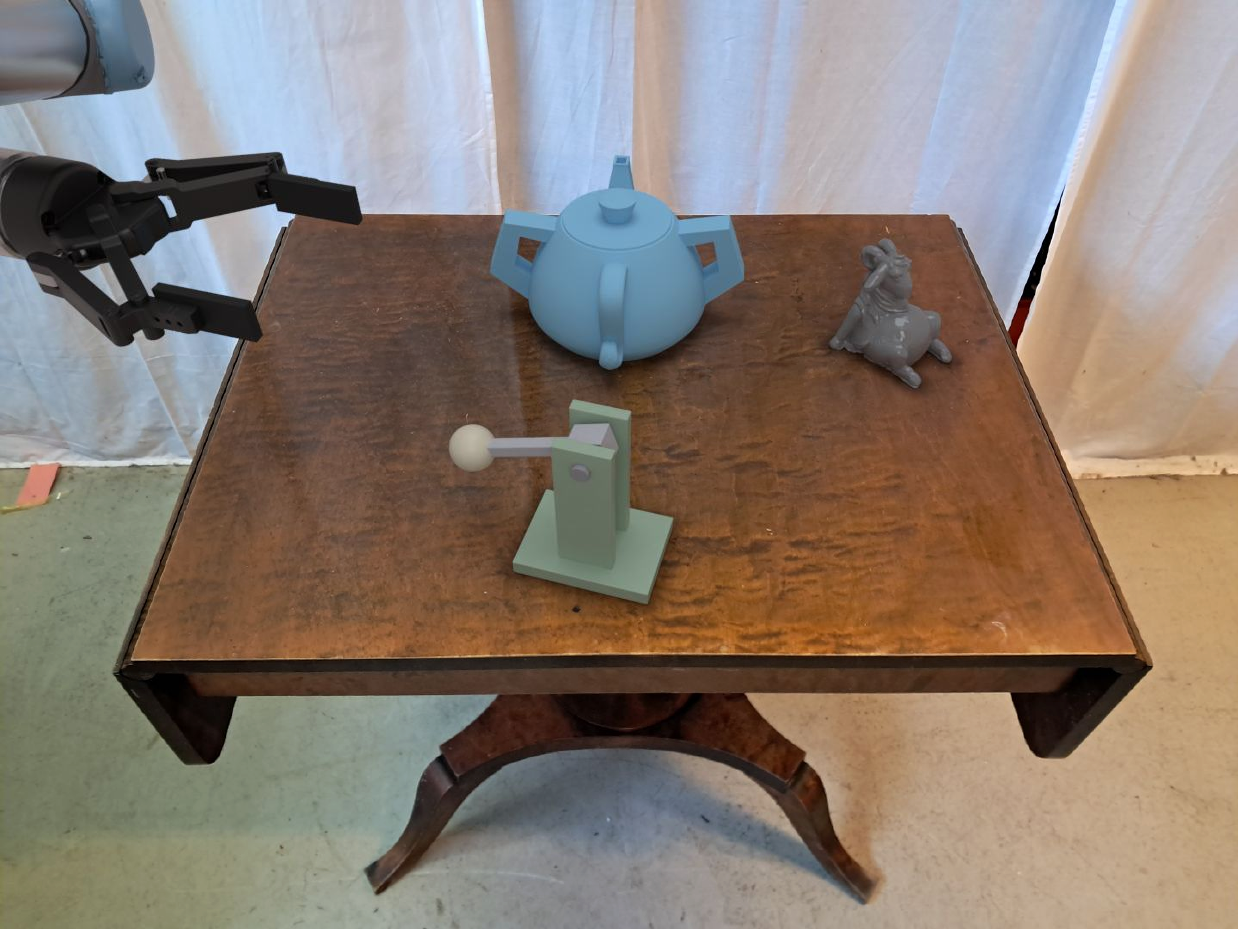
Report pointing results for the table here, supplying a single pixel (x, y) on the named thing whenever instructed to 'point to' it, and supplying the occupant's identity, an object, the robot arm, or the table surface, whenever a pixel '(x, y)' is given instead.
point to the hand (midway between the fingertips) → (309, 259)
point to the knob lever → (517, 444)
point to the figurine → (890, 317)
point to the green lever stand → (594, 517)
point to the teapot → (617, 270)
